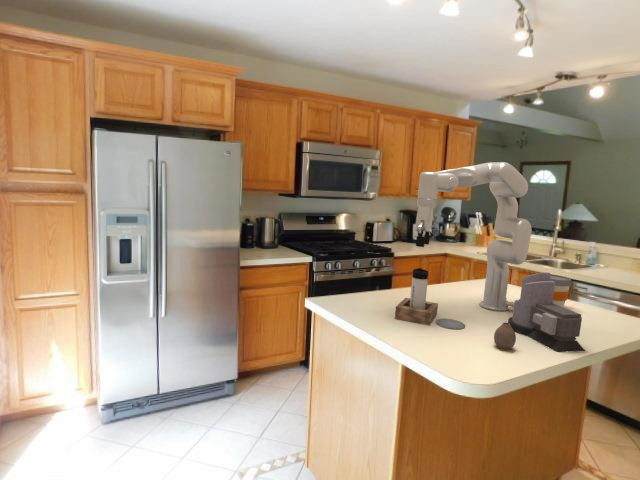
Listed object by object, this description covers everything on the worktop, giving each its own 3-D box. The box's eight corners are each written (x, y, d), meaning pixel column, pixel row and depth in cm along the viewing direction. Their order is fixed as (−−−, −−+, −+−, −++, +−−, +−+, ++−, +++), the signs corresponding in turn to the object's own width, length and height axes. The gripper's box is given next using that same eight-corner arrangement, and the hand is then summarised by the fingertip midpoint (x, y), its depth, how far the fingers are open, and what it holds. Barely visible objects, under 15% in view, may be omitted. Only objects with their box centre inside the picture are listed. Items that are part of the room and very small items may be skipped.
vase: (489, 343, 146) (492, 319, 145) (507, 343, 147) (510, 320, 145) (499, 351, 139) (502, 326, 138) (518, 352, 140) (521, 327, 138)
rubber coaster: (466, 323, 166) (466, 321, 166) (463, 331, 157) (463, 330, 156) (438, 318, 171) (438, 316, 171) (433, 325, 161) (433, 324, 161)
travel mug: (422, 314, 175) (427, 268, 172) (425, 319, 168) (429, 272, 165) (407, 313, 175) (412, 267, 172) (409, 318, 169) (414, 270, 166)
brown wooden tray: (436, 314, 176) (438, 303, 175) (429, 325, 161) (430, 313, 161) (404, 308, 182) (405, 297, 181) (394, 318, 167) (395, 306, 167)
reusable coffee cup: (571, 309, 195) (576, 278, 193) (559, 313, 188) (564, 281, 186) (544, 302, 205) (548, 273, 203) (532, 306, 198) (536, 275, 196)
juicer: (496, 322, 170) (503, 264, 167) (530, 321, 174) (537, 265, 170) (551, 352, 141) (561, 283, 138) (590, 351, 145) (601, 283, 141)
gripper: (421, 202, 174) (417, 242, 177) (412, 202, 159) (408, 246, 161) (440, 203, 171) (435, 244, 173) (432, 204, 156) (427, 248, 158)
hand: (422, 245), depth 167 cm, fingers open, 9 cm apart
